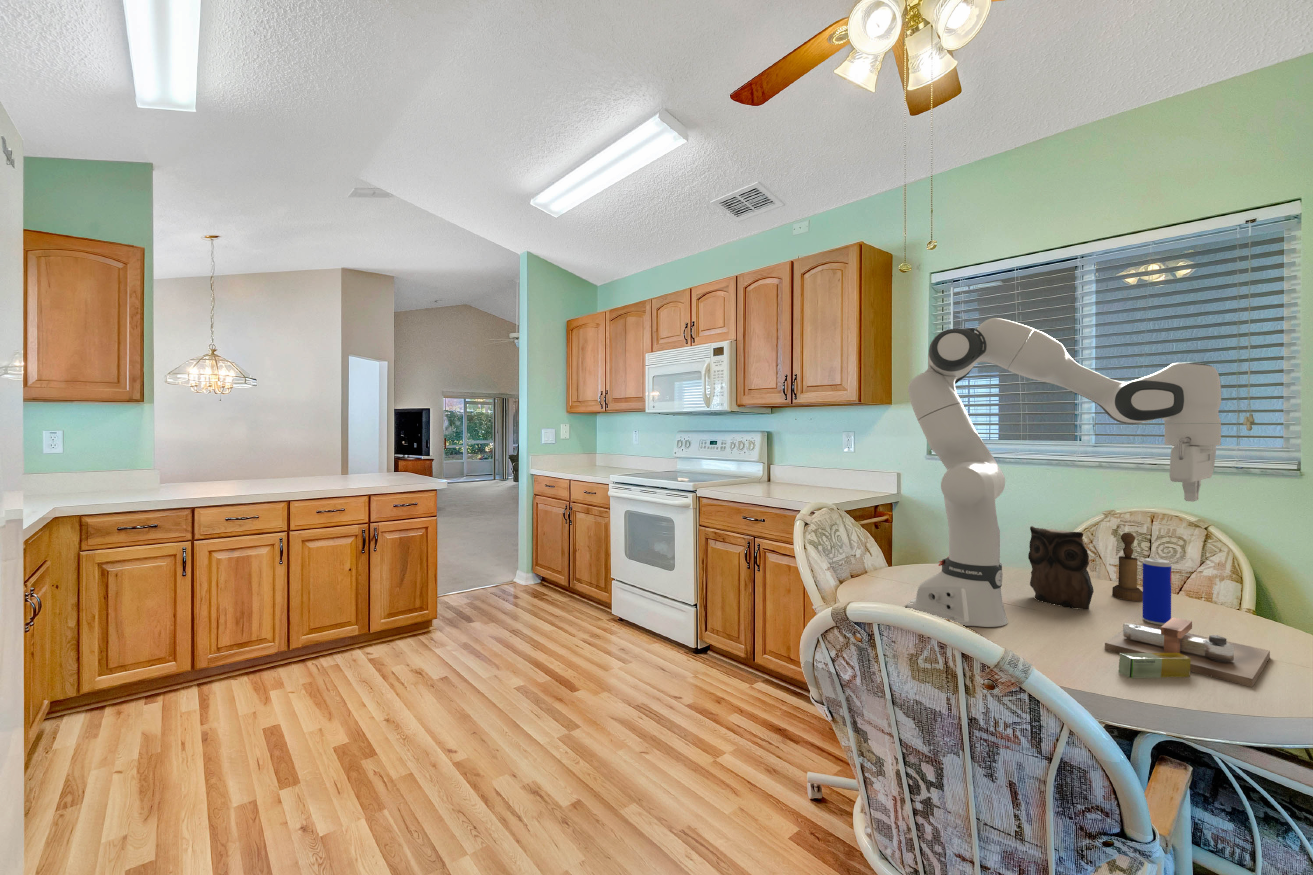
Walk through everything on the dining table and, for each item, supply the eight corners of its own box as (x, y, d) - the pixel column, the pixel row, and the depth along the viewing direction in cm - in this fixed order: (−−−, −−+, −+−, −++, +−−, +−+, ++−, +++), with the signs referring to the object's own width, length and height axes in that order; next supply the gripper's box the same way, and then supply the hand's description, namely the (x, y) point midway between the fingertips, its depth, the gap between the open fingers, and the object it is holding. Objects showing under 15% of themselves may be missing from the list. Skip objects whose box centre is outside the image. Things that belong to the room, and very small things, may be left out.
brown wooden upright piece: (1149, 601, 151) (1150, 535, 151) (1125, 601, 151) (1126, 535, 151) (1129, 594, 158) (1129, 530, 157) (1106, 594, 158) (1106, 530, 158)
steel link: (1235, 657, 109) (1235, 644, 109) (1231, 663, 106) (1232, 650, 106) (1126, 633, 122) (1126, 621, 122) (1120, 637, 120) (1120, 626, 120)
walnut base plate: (1104, 649, 118) (1105, 617, 118) (1134, 627, 131) (1134, 599, 131) (1252, 687, 101) (1252, 649, 101) (1269, 657, 114) (1270, 624, 114)
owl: (1095, 611, 143) (1096, 533, 142) (1037, 606, 147) (1038, 530, 147) (1077, 597, 155) (1077, 525, 154) (1024, 593, 159) (1024, 523, 159)
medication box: (1129, 679, 105) (1130, 658, 105) (1117, 672, 108) (1117, 652, 107) (1191, 678, 105) (1192, 657, 105) (1177, 671, 108) (1178, 651, 108)
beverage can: (1176, 626, 132) (1177, 563, 132) (1151, 624, 133) (1151, 562, 133) (1161, 618, 137) (1162, 558, 137) (1137, 617, 138) (1137, 557, 138)
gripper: (1201, 438, 112) (1200, 506, 112) (1221, 436, 124) (1221, 498, 125) (1160, 437, 117) (1159, 503, 117) (1183, 436, 129) (1182, 496, 130)
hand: (1191, 500), depth 121 cm, fingers closed
